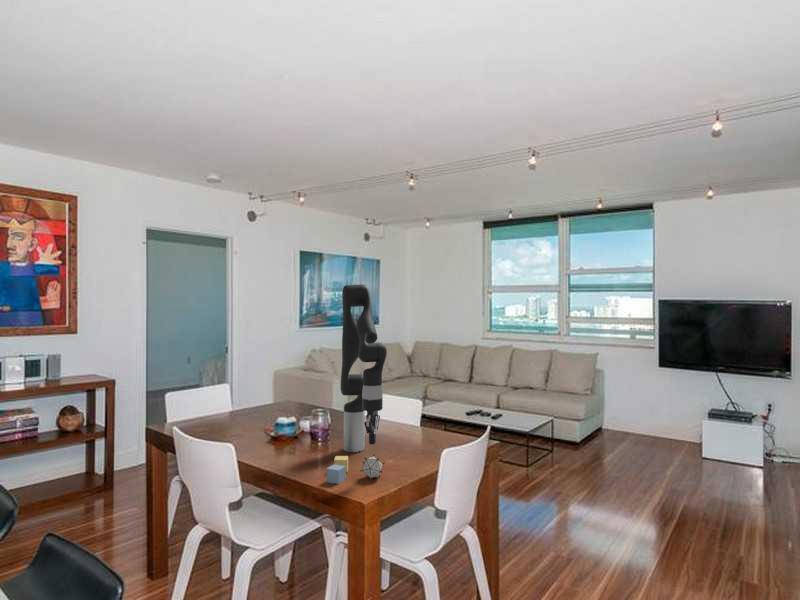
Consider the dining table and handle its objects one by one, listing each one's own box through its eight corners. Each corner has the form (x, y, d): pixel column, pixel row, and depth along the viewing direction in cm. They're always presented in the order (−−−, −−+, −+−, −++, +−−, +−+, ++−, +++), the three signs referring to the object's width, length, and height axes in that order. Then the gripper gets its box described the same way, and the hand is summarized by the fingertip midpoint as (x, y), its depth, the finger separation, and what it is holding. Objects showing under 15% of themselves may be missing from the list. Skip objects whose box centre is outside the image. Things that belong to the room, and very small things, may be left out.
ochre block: (335, 468, 193) (335, 456, 194) (348, 468, 194) (348, 455, 194) (334, 473, 188) (334, 460, 189) (347, 473, 189) (347, 459, 189)
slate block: (333, 478, 183) (333, 464, 183) (345, 479, 181) (345, 466, 181) (326, 482, 179) (326, 468, 179) (338, 484, 177) (338, 470, 177)
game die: (368, 489, 182) (352, 469, 180) (372, 473, 190) (357, 454, 187) (387, 480, 179) (372, 459, 177) (391, 464, 187) (376, 445, 185)
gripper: (367, 393, 191) (367, 438, 190) (357, 399, 178) (357, 448, 178) (386, 394, 189) (386, 439, 189) (377, 400, 176) (377, 449, 176)
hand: (372, 443), depth 183 cm, fingers closed
